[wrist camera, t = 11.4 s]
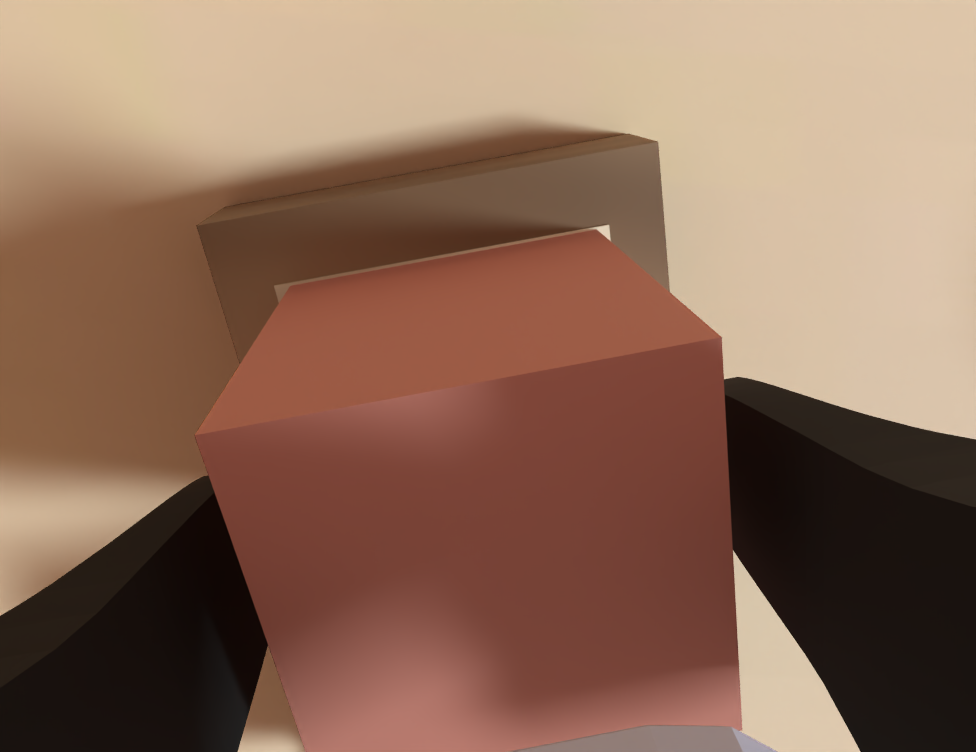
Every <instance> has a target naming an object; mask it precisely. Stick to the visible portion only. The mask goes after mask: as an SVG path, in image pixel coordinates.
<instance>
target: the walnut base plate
mask: <svg viewBox="0 0 976 752" xmlns="http://www.w3.org/2000/svg"><path fill="white" fill-rule="evenodd" d="M197 229H198V232H199V235H200V238H201V241H202V245H203V248H204V251H205V254H206V257H207V261H208V264H209V267H210V270H211V273H212V277H213V280H214V283H215V286H216V289H217V293H218V296H219V299H220V302H221V305H222V309H223V312H224V315H225V318H226V321H227V325H228V328H229V331H230V334H231V337H232V340H233V344H234V347H235V350H236V353H237V356H238V360H239V363H241V362H242V360H243V359H244V357H245V356H246V354H247V352H248V351H249V349H250V348H251V346H252V345H253V343H254V342H255V340H256V338H257V337H258V335H259V334H260V332H261V331H262V329H263V327H264V326H265V324H266V323H267V321H268V320H269V318H270V316H271V315H272V313H273V312H274V310H275V309H276V307H277V306H278V304H279V302H280V301H281V299H282V298H283V296H284V295H285V293H286V291H287V290H288V288H289V287H290V286H292V285H297V284H303V283H308V282H313V281H319V280H324V279H330V278H335V277H341V276H346V275H351V274H357V273H362V272H368V271H373V270H379V269H384V268H389V267H395V266H400V265H406V264H411V263H417V262H422V261H428V260H433V259H438V258H444V257H449V256H455V255H460V254H466V253H471V252H476V251H482V250H487V249H493V248H498V247H504V246H509V245H514V244H520V243H525V242H531V241H536V240H542V239H547V238H552V237H558V236H563V235H569V234H574V233H580V232H585V231H591V230H596V229H597V230H598V231H599V232H600V233H602V234H603V235H604V236H605V237H606V238H607V239H609V240H610V241H611V242H612V243H613V244H614V245H616V246H617V247H618V248H619V249H620V250H621V251H622V252H624V253H625V254H626V255H627V256H628V257H629V258H631V259H632V260H633V261H634V262H635V263H636V264H637V265H639V266H640V267H641V268H642V269H643V270H644V271H646V272H647V273H648V274H649V275H650V276H651V277H653V278H654V279H655V280H656V281H657V282H658V283H659V284H661V285H662V286H663V287H664V288H665V289H666V290H668V291H669V292H670V289H669V277H668V264H667V251H666V238H665V225H664V212H663V199H662V186H661V173H660V161H659V148H658V142H657V141H653V140H650V139H646V138H642V137H638V136H635V135H631V134H625V135H619V136H614V137H608V138H603V139H597V140H592V141H586V142H581V143H575V144H570V145H564V146H559V147H553V148H548V149H542V150H537V151H531V152H526V153H520V154H515V155H509V156H504V157H498V158H493V159H487V160H482V161H476V162H471V163H465V164H460V165H454V166H449V167H443V168H438V169H432V170H427V171H421V172H415V173H410V174H404V175H399V176H393V177H388V178H382V179H377V180H371V181H366V182H360V183H355V184H349V185H344V186H338V187H333V188H327V189H322V190H316V191H311V192H305V193H300V194H294V195H289V196H283V197H278V198H272V199H267V200H261V201H256V202H250V203H245V204H239V205H234V206H228V207H224V208H223V209H221V210H220V211H218V212H217V213H215V214H214V215H212V216H211V217H209V218H208V219H206V220H204V221H203V222H201V223H200V224H198V225H197Z"/></svg>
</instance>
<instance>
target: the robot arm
mask: <svg viewBox="0 0 976 752" xmlns="http://www.w3.org/2000/svg"><path fill="white" fill-rule="evenodd" d="M724 394H725V413H726V432H727V451H728V470H729V489H730V508H731V527H732V546H733V550H734V552H735V553H736V555H737V556H738V558H739V559H740V561H741V562H742V564H743V565H744V567H745V568H746V570H747V571H748V573H749V574H750V576H751V577H752V579H753V580H754V581H755V583H756V584H757V586H758V587H759V589H760V590H761V592H762V593H763V594H764V596H765V597H766V599H767V600H768V602H769V603H770V604H771V606H772V607H773V609H774V610H775V612H776V613H777V615H778V616H779V617H780V619H781V620H782V622H783V623H784V625H785V626H786V627H787V629H788V630H789V632H790V633H791V635H792V636H793V638H794V639H795V640H796V642H797V643H798V645H799V646H800V648H801V649H802V650H803V652H804V653H805V655H806V656H807V658H808V659H809V661H810V662H811V664H812V666H813V667H814V669H815V670H816V672H817V674H818V675H819V677H820V678H821V680H822V682H823V683H824V685H825V687H826V689H827V690H828V692H829V694H830V696H831V698H832V700H833V701H834V703H835V705H836V707H837V709H838V711H839V712H840V714H841V716H842V718H843V720H844V722H845V723H846V725H847V727H848V729H849V731H850V733H851V734H852V736H853V738H854V740H855V742H856V744H857V746H858V747H859V749H860V751H861V752H976V440H975V439H970V438H965V437H959V436H954V435H948V434H943V433H938V432H933V431H929V430H924V429H920V428H915V427H911V426H907V425H904V424H900V423H896V422H892V421H888V420H884V419H881V418H877V417H873V416H869V415H866V414H862V413H859V412H856V411H852V410H849V409H846V408H842V407H839V406H836V405H833V404H829V403H826V402H823V401H820V400H817V399H814V398H811V397H808V396H804V395H801V394H798V393H795V392H792V391H789V390H786V389H783V388H780V387H777V386H773V385H770V384H767V383H763V382H760V381H756V380H752V379H748V378H742V377H735V378H729V379H724ZM267 646H268V643H267V640H266V637H265V634H264V632H263V629H262V626H261V623H260V620H259V617H258V614H257V612H256V609H255V606H254V603H253V600H252V597H251V595H250V592H249V589H248V586H247V583H246V580H245V577H244V575H243V572H242V569H241V566H240V563H239V560H238V558H237V555H236V552H235V549H234V546H233V543H232V541H231V538H230V535H229V532H228V529H227V526H226V523H225V521H224V518H223V515H222V512H221V509H220V506H219V504H218V501H217V498H216V495H215V492H214V489H213V487H212V484H211V481H210V478H209V476H204V477H201V478H200V479H198V480H196V481H194V482H192V483H191V484H189V485H188V486H186V487H185V488H183V489H182V490H180V491H179V492H177V493H176V494H174V495H173V496H172V497H170V498H169V499H168V500H166V501H165V502H164V503H162V504H161V505H160V506H158V507H157V508H156V509H154V510H153V511H152V512H150V513H149V514H148V515H146V516H145V517H144V518H142V519H141V520H140V521H138V522H137V523H136V524H134V525H133V526H132V527H130V528H129V529H128V530H126V531H125V532H124V533H122V534H121V535H120V536H118V537H117V538H116V539H114V540H113V541H112V542H110V543H109V544H108V545H106V546H105V547H103V548H102V549H101V550H99V551H98V552H96V553H95V554H93V555H92V556H91V557H89V558H88V559H86V560H85V561H84V562H82V563H81V564H79V565H78V566H76V567H75V568H74V569H72V570H71V571H69V572H68V573H66V574H65V575H64V576H62V577H61V578H59V579H58V580H57V581H55V582H54V583H52V584H51V585H49V586H48V587H46V588H45V589H43V590H42V591H40V592H38V593H37V594H35V595H34V596H32V597H31V598H29V599H27V600H26V601H24V602H23V603H21V604H20V605H18V606H16V607H15V608H13V609H11V610H9V611H8V612H6V613H4V614H3V615H1V616H0V752H237V751H238V748H239V744H240V741H241V737H242V734H243V731H244V727H245V724H246V720H247V717H248V713H249V710H250V706H251V703H252V700H253V696H254V693H255V689H256V686H257V682H258V679H259V675H260V672H261V668H262V664H263V661H264V657H265V654H266V650H267ZM508 752H777V751H775V750H773V749H772V748H770V747H768V746H766V745H764V744H762V743H760V742H759V741H757V740H755V739H753V738H751V737H749V736H747V735H746V734H744V733H742V732H740V731H738V730H736V729H734V728H733V727H729V726H701V725H643V726H638V727H633V728H628V729H622V730H617V731H612V732H607V733H602V734H596V735H591V736H586V737H581V738H576V739H570V740H565V741H560V742H555V743H550V744H544V745H539V746H534V747H529V748H524V749H518V750H513V751H508Z"/></svg>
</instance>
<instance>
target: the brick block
mask: <svg viewBox="0 0 976 752" xmlns="http://www.w3.org/2000/svg"><path fill="white" fill-rule="evenodd" d="M195 438H196V441H197V444H198V447H199V450H200V452H201V455H202V458H203V461H204V464H205V467H206V469H207V472H208V475H209V478H210V481H211V484H212V487H213V489H214V492H215V495H216V498H217V501H218V504H219V506H220V509H221V512H222V515H223V518H224V521H225V523H226V526H227V529H228V532H229V535H230V538H231V541H232V543H233V546H234V549H235V552H236V555H237V558H238V560H239V563H240V566H241V569H242V572H243V575H244V577H245V580H246V583H247V586H248V589H249V592H250V595H251V597H252V600H253V603H254V606H255V609H256V612H257V614H258V617H259V620H260V623H261V626H262V629H263V632H264V634H265V637H266V640H267V643H268V646H269V649H270V651H271V654H272V657H273V660H274V663H275V666H276V668H277V671H278V674H279V677H280V680H281V683H282V686H283V688H284V691H285V694H286V697H287V700H288V703H289V705H290V708H291V711H292V714H293V717H294V720H295V722H296V725H297V728H298V731H299V734H300V737H301V740H302V742H303V745H304V748H305V751H306V752H508V751H513V750H518V749H524V748H529V747H534V746H539V745H544V744H550V743H555V742H560V741H565V740H570V739H576V738H581V737H586V736H591V735H596V734H602V733H607V732H612V731H617V730H622V729H628V728H633V727H638V726H643V725H701V726H729V727H733V728H734V729H736V730H738V731H740V730H742V716H741V697H740V678H739V660H738V641H737V622H736V603H735V584H734V565H733V546H732V527H731V508H730V489H729V470H728V451H727V432H726V413H725V394H724V375H723V356H722V337H721V336H720V335H718V334H717V333H716V332H715V331H714V330H713V329H712V328H710V327H709V326H708V325H707V324H706V323H705V322H703V321H702V320H701V319H700V318H699V317H698V316H696V315H695V314H694V313H693V312H692V311H691V310H690V309H688V308H687V307H686V306H685V305H684V304H683V303H681V302H680V301H679V300H678V299H677V298H676V297H674V296H673V295H672V294H671V293H670V292H669V291H668V290H666V289H665V288H664V287H663V286H662V285H661V284H659V283H658V282H657V281H656V280H655V279H654V278H653V277H651V276H650V275H649V274H648V273H647V272H646V271H644V270H643V269H642V268H641V267H640V266H639V265H637V264H636V263H635V262H634V261H633V260H632V259H631V258H629V257H628V256H627V255H626V254H625V253H624V252H622V251H621V250H620V249H619V248H618V247H617V246H616V245H614V244H613V243H612V242H611V241H610V240H609V239H607V238H606V237H605V236H604V235H603V234H602V233H600V232H599V231H598V230H597V229H596V230H591V231H585V232H580V233H574V234H569V235H563V236H558V237H552V238H547V239H542V240H536V241H531V242H525V243H520V244H514V245H509V246H504V247H498V248H493V249H487V250H482V251H476V252H471V253H466V254H460V255H455V256H449V257H444V258H438V259H433V260H428V261H422V262H417V263H411V264H406V265H400V266H395V267H389V268H384V269H379V270H373V271H368V272H362V273H357V274H351V275H346V276H341V277H335V278H330V279H324V280H319V281H313V282H308V283H303V284H297V285H292V286H290V287H289V288H288V290H287V291H286V293H285V295H284V296H283V298H282V299H281V301H280V302H279V304H278V306H277V307H276V309H275V310H274V312H273V313H272V315H271V316H270V318H269V320H268V321H267V323H266V324H265V326H264V327H263V329H262V331H261V332H260V334H259V335H258V337H257V338H256V340H255V342H254V343H253V345H252V346H251V348H250V349H249V351H248V352H247V354H246V356H245V357H244V359H243V360H242V362H241V363H240V365H239V367H238V368H237V370H236V371H235V373H234V374H233V376H232V377H231V379H230V381H229V382H228V384H227V385H226V387H225V388H224V390H223V392H222V393H221V395H220V396H219V398H218V399H217V401H216V403H215V404H214V406H213V407H212V409H211V410H210V412H209V413H208V415H207V417H206V418H205V420H204V421H203V423H202V424H201V426H200V428H199V429H198V431H197V432H196V434H195Z"/></svg>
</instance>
